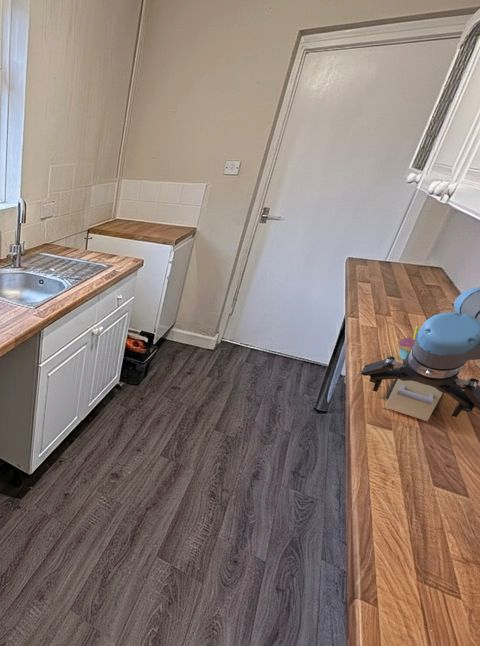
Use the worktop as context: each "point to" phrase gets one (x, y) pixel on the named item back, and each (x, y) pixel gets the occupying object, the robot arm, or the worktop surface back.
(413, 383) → the drawer
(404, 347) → the cupcake
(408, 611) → the worktop surface
